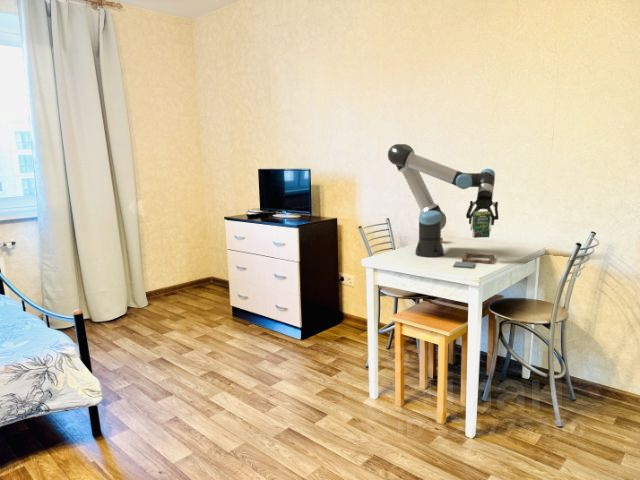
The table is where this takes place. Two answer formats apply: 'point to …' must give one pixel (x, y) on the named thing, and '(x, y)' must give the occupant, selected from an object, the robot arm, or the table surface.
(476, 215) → the coffee box
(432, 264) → the table surface
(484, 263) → the brown flat square frame
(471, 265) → the mat
